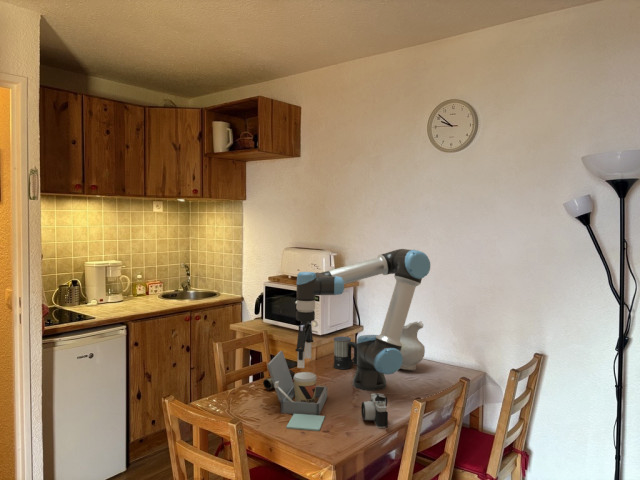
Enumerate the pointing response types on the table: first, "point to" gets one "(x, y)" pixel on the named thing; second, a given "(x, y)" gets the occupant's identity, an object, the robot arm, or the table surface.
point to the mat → (306, 422)
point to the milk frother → (344, 352)
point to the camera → (376, 410)
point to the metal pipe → (269, 383)
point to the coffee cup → (305, 387)
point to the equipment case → (292, 389)
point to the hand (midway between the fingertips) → (304, 362)
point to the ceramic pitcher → (411, 346)
